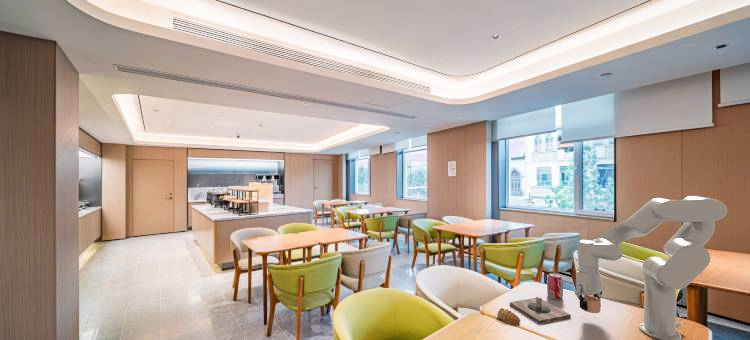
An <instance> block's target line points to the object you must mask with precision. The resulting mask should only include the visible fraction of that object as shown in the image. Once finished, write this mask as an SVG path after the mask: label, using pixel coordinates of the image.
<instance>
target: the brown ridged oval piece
mask: <svg viewBox="0 0 750 340" xmlns="http://www.w3.org/2000/svg"><path fill="white" fill-rule="evenodd" d="M497 317H498V318H499V320H502V321H503V322H505V323H508V324H512V325H518V324H520V322H521V318H519V316H518V315H517V314H516V313H514V312H512V311H511V310H509V309H505V308H503V307H500V308H499V310H498V311H497Z"/></svg>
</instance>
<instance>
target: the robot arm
mask: <svg viewBox="0 0 750 340" xmlns="http://www.w3.org/2000/svg"><path fill="white" fill-rule="evenodd" d="M635 211H636V212H634V213H633V214H632V215H631V216H629V217H628V218H627V219H626V220H623V221H622V222H620V223H618V224H616V225H614V226H612V227H610V228H609V229H608V230H606V231H605V232H604V233H602V234H601V235H600V236H599V237H597V239H596V240H591V239H589V240H588V239H580V240H578V241H577V243H576V245H577V266H578V267H577V269H578V270H577V272H576V275H575V277H576V279H575V291H574V294H575V296H576V297H577V298H578V299H577V300H578V301H579V308H580V309H581V308H582V309H584V310H586V311H587V310H588V305H587V301H586V299H587V296H588V295H591V296H595V297H597V298H599V299H600V300H601V298H602V294H603V291H604V290H605V287H604V286H603V285H602V280H601V279H602V278H601V275H600V274H601V273H600V267H599V263H600V262H599V261H600V260H606V261H613V262H614V261H618V260H620V259H622V257H623V250H622V249H621V247H620V245H621V244H623V243H624V242H625V241H628V240H630V239H633V238H641V237H644V236H647V235H649V234H651V232H652V231H654V230H655V229H656V228H657V227H659V226H660V225H661V224H663V223H664V222H670V223H682V225H681V226H680V228H678V230H677V231H676V232H675V233H674V234H673V235H672V236H671V237H670V238H669V239H668V240H667V242H665V244H664V245H663V252H664V254H665V255H667V257H669V258H668V259H667V258H664V257H660V256H649V257H648V258H646V259H645V260H644V261H643V264H642V275H643V285H644V286H643V287H644V289H643V290H644V293H643V298H644V299H643V300H644V301H643V322H640V323H639V324H638V327H639V330H640V331H641V332H643V334H646V335H648V336H650V337H652V338H655V339H657V340H682V335H681V333H679V332H678V331H677V328H678V329H679V328H681V327H682V324H681V323H680V322H679V321H677V297H678V296H677V295H678V294H677V291H678V290H679V291H680V290H683V289H684V288H686V287H688V286H689V285H690V284H691V283H692V282H693V281H695V279H696V278H697V277H699V276H700V275H701V274H702V273H703V272H704V270H706V268H707V267H708V266H709V264H710V263H711V254H710V252H709V250H708V249H707V248H706V247H704V246H705V245H706V244H707V243H708V242H709V241H710V239H711V238H712V237H713V235H714V233H715V230H716V222H715V221H720V220H722V219H724V218H725V217H726V215H727V214H728V207H727V205H726V204H725V203H724V202H722V200H719V199H716V198H712V197H705V196H700V195H689V196H686V197H684V198H683V199H678V200H677V199H668V198H665V197H656V198H652V199H650V200H649V201H648V202H646V203H645V204H643V206H641V207H640V208H638V210H635ZM599 259H600V260H599ZM582 295H584V298H583V297H582ZM600 308H601V301H600ZM582 309H581V310H582ZM584 310H583V311H584ZM586 311H585V312H586Z"/></svg>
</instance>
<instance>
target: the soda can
mask: <svg viewBox="0 0 750 340" xmlns="http://www.w3.org/2000/svg"><path fill="white" fill-rule="evenodd" d="M546 283H547V284H546V285H547V286H546V288H547V291H546V292H547V296H548V297H549V298H550V299H553V300H561V299H563V297H564V296H563V295H564V279H563V277H562V275H561V274H559V273H555V272H550V273H548V275H547V281H546Z"/></svg>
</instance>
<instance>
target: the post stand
mask: <svg viewBox="0 0 750 340" xmlns="http://www.w3.org/2000/svg"><path fill="white" fill-rule="evenodd" d="M509 306H510V307H512V308H514V309H516V310H517V311H519V312H520V313H522V315H525V316H526V317H528V318H529V319H531V320H532V321H534V322H535V323H537V324H538V325H541V324H547V323H552V322H556V321H561V320H567V319H570V318H571V316H572V315H571V314H570V313H569V312H567V311H565V310H564V309H561V308H559V307H557V306H556V305H554V304H552V303H550V302H548V301H546V300H544V299H542V297H540V296H536V297H534V298H527V299H521V300H520V299H519V300H515V301H510V302H509Z"/></svg>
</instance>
